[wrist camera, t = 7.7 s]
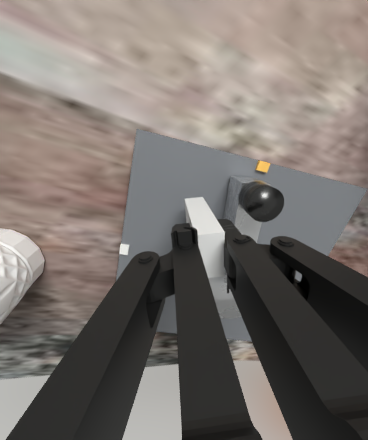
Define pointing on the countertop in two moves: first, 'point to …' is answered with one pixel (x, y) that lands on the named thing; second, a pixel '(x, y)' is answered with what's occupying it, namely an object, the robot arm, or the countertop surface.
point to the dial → (245, 226)
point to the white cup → (17, 268)
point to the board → (222, 204)
